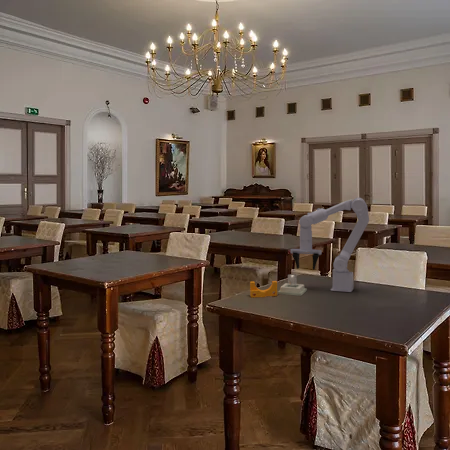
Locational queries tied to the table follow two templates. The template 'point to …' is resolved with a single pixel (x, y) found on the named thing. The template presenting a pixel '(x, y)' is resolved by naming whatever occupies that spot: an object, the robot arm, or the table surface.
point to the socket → (292, 290)
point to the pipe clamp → (263, 293)
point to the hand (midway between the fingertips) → (305, 268)
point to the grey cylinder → (292, 280)
